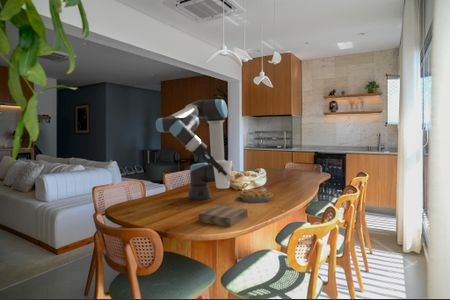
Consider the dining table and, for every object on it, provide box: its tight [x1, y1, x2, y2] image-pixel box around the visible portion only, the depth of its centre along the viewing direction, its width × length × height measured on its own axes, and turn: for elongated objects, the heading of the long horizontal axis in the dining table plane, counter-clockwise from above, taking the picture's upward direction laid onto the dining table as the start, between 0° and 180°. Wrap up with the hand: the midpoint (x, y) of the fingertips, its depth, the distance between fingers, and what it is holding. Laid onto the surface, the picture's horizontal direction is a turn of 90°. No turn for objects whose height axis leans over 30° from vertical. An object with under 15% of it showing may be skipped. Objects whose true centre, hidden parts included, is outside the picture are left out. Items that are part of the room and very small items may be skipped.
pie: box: [238, 189, 273, 203], centre depth 189 cm, size 22×22×5 cm
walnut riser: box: [197, 205, 249, 228], centre depth 145 cm, size 18×18×4 cm
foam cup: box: [213, 160, 233, 189], centre depth 144 cm, size 10×9×13 cm
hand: (228, 177), depth 145 cm, fingers closed on foam cup, 9 cm apart
